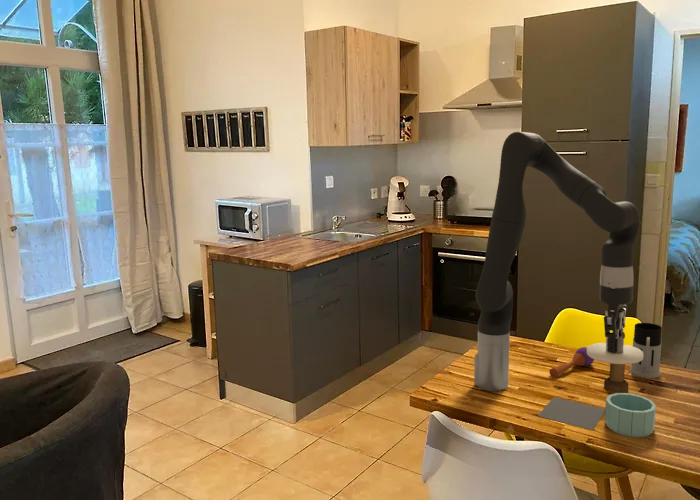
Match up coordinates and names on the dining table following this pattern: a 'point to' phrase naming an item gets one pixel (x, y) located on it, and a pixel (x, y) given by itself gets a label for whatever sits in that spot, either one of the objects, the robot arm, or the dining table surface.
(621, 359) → the lid
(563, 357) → the dining table surface
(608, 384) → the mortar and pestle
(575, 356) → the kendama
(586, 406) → the mat
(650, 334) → the glass holder
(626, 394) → the cup
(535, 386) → the dining table surface
